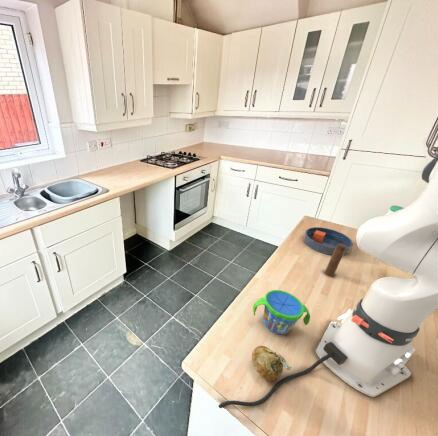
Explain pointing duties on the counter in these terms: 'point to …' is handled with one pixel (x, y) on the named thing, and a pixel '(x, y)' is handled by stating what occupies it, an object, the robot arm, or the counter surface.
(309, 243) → the bowl
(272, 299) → the snack cup
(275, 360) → the onion
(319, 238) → the block
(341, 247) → the stick
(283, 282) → the counter surface
